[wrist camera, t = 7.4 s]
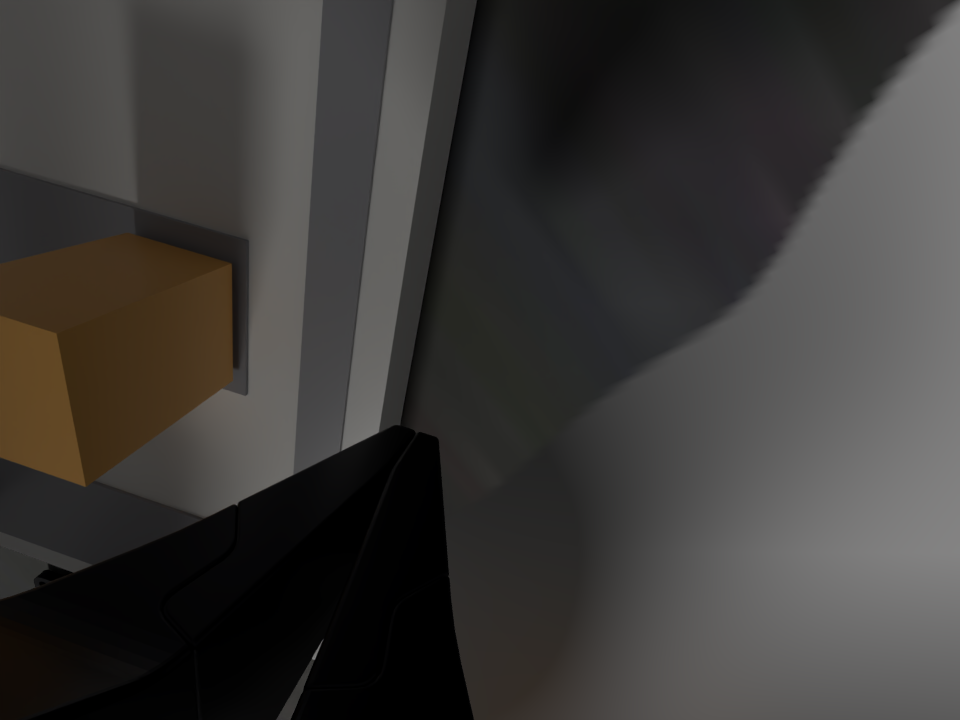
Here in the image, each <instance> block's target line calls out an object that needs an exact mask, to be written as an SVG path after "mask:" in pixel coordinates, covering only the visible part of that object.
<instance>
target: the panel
mask: <svg viewBox="0 0 960 720" xmlns="http://www.w3.org/2000/svg"><path fill="white" fill-rule="evenodd" d="M476 3H477V0H0V264H1V263H6V262H10V261H14V260H18V259H22V258H26V257H30V256H34V255H38V254H42V253H46V252H50V251H54V250H59V249H63V248H67V247H71V246H75V245H79V244H83V243H87V242H91V241H95V240H99V239H103V238H107V237H111V236H116V235H120V234H124V233H131V234H134V235H138V236H141V237H144V238H148V239H151V240H155V241H158V242H161V243H165V244H168V245H171V246H175V247H178V248H182V249H185V250H188V251H192V252H195V253H198V254H202V255H205V256H209V257H212V258H215V259H219V260H222V261H225V262H229V263H232V327H233V381H232V382H230V383H229V384H228V385H226V386H225V387H224V388H222V389H221V390H219V391H218V392H217V393H215V394H214V395H212V396H211V397H210V398H208V399H207V400H206V401H204V402H203V403H201V404H200V405H199V406H197V407H196V408H194V409H193V410H192V411H190V412H189V413H188V414H186V415H185V416H183V417H182V418H181V419H179V420H178V421H177V422H175V423H174V424H172V425H171V426H170V427H168V428H167V429H165V430H164V431H163V432H161V433H160V434H159V435H157V436H156V437H154V438H153V439H152V440H150V441H149V442H147V443H146V444H145V445H143V446H142V447H141V448H139V449H138V450H136V451H135V452H134V453H132V454H131V455H130V456H128V457H127V458H125V459H124V460H123V461H121V462H120V463H118V464H117V465H116V466H114V467H113V468H112V469H110V470H109V471H107V472H106V473H105V474H103V475H102V476H100V477H99V478H98V479H96V480H95V481H94V482H92V483H91V484H89V485H88V486H87V487H84V486H82V485H79V484H76V483H73V482H70V481H67V480H64V479H61V478H58V477H56V476H53V475H50V474H47V473H44V472H41V471H38V470H35V469H32V468H29V467H27V466H24V465H21V464H18V463H15V462H12V461H9V460H6V459H3V458H1V457H0V546H2V547H4V548H7V549H10V550H13V551H15V552H18V553H21V554H24V555H26V556H29V557H32V558H35V559H38V560H40V561H43V562H46V563H49V564H51V565H54V566H57V567H60V568H62V569H65V570H68V571H71V572H73V573H74V572H76V571H79V570H82V569H84V568H87V567H89V566H92V565H94V564H97V563H99V562H102V561H104V560H107V559H109V558H112V557H114V556H117V555H120V554H122V553H125V552H127V551H130V550H132V549H135V548H137V547H140V546H142V545H144V544H147V543H149V542H152V541H154V540H156V539H159V538H161V537H164V536H166V535H168V534H171V533H173V532H176V531H178V530H180V529H182V528H184V527H187V526H189V525H191V524H193V523H195V522H197V521H199V520H202V519H204V518H206V517H208V516H210V515H212V514H214V513H216V512H218V511H220V510H222V509H224V508H226V507H228V506H230V505H233V504H236V505H237V504H238V502H239V501H241V500H243V499H245V498H247V497H249V496H251V495H253V494H255V493H257V492H259V491H261V490H263V489H265V488H267V487H269V486H271V485H273V484H275V483H277V482H279V481H281V480H283V479H285V478H287V477H290V476H292V475H294V474H296V473H298V472H300V471H302V470H304V469H306V468H308V467H310V466H312V465H314V464H316V463H318V462H320V461H322V460H324V459H326V458H328V457H330V456H332V455H334V454H336V453H338V452H340V451H342V450H344V449H346V448H348V447H350V446H352V445H354V444H356V443H358V442H360V441H362V440H364V439H366V438H368V437H370V436H372V435H374V434H376V433H378V432H380V431H382V430H385V429H387V428H389V427H391V426H393V425H400V423H401V417H402V412H403V406H404V400H405V395H406V389H407V384H408V378H409V373H410V367H411V362H412V356H413V351H414V345H415V340H416V334H417V329H418V323H419V318H420V312H421V307H422V301H423V296H424V290H425V284H426V279H427V273H428V268H429V262H430V257H431V251H432V246H433V240H434V235H435V229H436V224H437V218H438V213H439V207H440V202H441V196H442V191H443V185H444V179H445V174H446V168H447V163H448V157H449V152H450V146H451V141H452V135H453V130H454V124H455V119H456V113H457V108H458V102H459V97H460V91H461V86H462V80H463V75H464V69H465V63H466V58H467V52H468V47H469V41H470V36H471V30H472V25H473V19H474V14H475V8H476ZM322 641H323V640H322ZM321 643H322V642H321ZM320 646H321V644H320V645H319V647H318V649H317V650H316V652H315V654H314V656H313V657H312V659H313V660H315V658H316V656H317V653H318V651H319V648H320Z"/></svg>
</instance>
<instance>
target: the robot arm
mask: <svg viewBox="0 0 960 720" xmlns="http://www.w3.org/2000/svg"><path fill="white" fill-rule="evenodd" d="M448 576H449V568H448V555H447V542H446V530H445V516H444V503H443V490H442V477H441V464H440V451H439V440H438V438H437V437H435V436H431V435H428V434H425V433H422V432H418V433H416V432H415V431H414V430H412V429H409V428H406V427H403V426H400V425H393V426H391V427H389V428H387V429H385V430H382V431H380V432H378V433H376V434H374V435H372V436H370V437H368V438H366V439H364V440H362V441H360V442H358V443H356V444H354V445H352V446H350V447H348V448H346V449H344V450H342V451H340V452H338V453H336V454H334V455H332V456H330V457H328V458H326V459H324V460H322V461H320V462H318V463H316V464H314V465H312V466H310V467H308V468H306V469H304V470H302V471H300V472H298V473H296V474H294V475H292V476H290V477H287V478H285V479H283V480H281V481H279V482H277V483H275V484H273V485H271V486H269V487H267V488H265V489H263V490H261V491H259V492H257V493H255V494H253V495H251V496H249V497H247V498H245V499H243V500H241V501H239V502H238V504H237V505H236V504H233V505H230V506H228V507H226V508H224V509H222V510H220V511H218V512H216V513H214V514H212V515H210V516H208V517H206V518H204V519H202V520H199V521H197V522H195V523H193V524H191V525H189V526H187V527H184V528H182V529H180V530H178V531H176V532H173V533H171V534H168V535H166V536H164V537H161V538H159V539H156V540H154V541H152V542H149V543H147V544H144V545H142V546H140V547H137V548H135V549H132V550H130V551H127V552H125V553H122V554H120V555H117V556H114V557H112V558H109V559H107V560H104V561H102V562H99V563H97V564H94V565H92V566H89V567H87V568H84V569H82V570H79V571H76V572H74V573H71V574H69V575H66V576H65V575H62V574H59V573H57V572H54V571H51V570H44V571H43V572H42V573H41V574H40V575H38V576H37V577H36V578H35V579H34V583H35V587H36V588H33V589H31V590H28V591H25V592H22V593H20V594H17V595H14V596H11V597H7V598H4V599H0V720H276V719H277V717H278V716H279V714H280V712H281V711H282V709H283V707H284V705H285V704H286V702H287V700H288V699H289V697H290V695H291V693H292V692H293V690H294V688H295V687H296V685H297V683H298V681H299V680H300V678H301V676H302V674H303V673H304V671H305V669H306V668H307V666H308V664H309V662H310V661H311V659H312V657H313V656H314V654H315V652H316V650H317V649H318V647H319V645H320V644H321V646H320V648H319V651H318V653H317V656H316V658H315V661H314V663H313V666H312V668H311V671H310V673H309V676H308V678H307V681H306V683H305V686H304V690H303V693H302V694H301V696H300V699H299V701H298V704H297V706H296V708H295V711H294V713H293V715H292V718H291V720H474V718H473V713H472V709H471V704H470V700H469V696H468V691H467V687H466V682H465V678H464V673H463V669H462V665H461V660H460V654H459V649H458V644H457V639H456V633H455V627H454V619H453V610H452V603H451V592H450V579H449V577H448ZM322 640H323V641H322ZM321 642H322V643H321Z"/></svg>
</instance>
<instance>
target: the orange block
mask: <svg viewBox="0 0 960 720" xmlns="http://www.w3.org/2000/svg"><path fill="white" fill-rule="evenodd" d="M232 381H233V327H232V263H229V262H225V261H222V260H219V259H215V258H212V257H209V256H205V255H202V254H198V253H195V252H192V251H188V250H185V249H182V248H178V247H175V246H171V245H168V244H165V243H161V242H158V241H155V240H151V239H148V238H144V237H141V236H138V235H134V234H131V233H124V234H120V235H116V236H111V237H107V238H103V239H99V240H95V241H91V242H87V243H83V244H79V245H75V246H71V247H67V248H63V249H59V250H54V251H50V252H46V253H42V254H38V255H34V256H30V257H26V258H22V259H18V260H14V261H10V262H6V263H1V264H0V457H1V458H3V459H6V460H9V461H12V462H15V463H18V464H21V465H24V466H27V467H29V468H32V469H35V470H38V471H41V472H44V473H47V474H50V475H53V476H56V477H58V478H61V479H64V480H67V481H70V482H73V483H76V484H79V485H82V486H84V487H87V486H88V485H89V484H91V483H92V482H94V481H95V480H96V479H98V478H99V477H100V476H102V475H103V474H105V473H106V472H107V471H109V470H110V469H112V468H113V467H114V466H116V465H117V464H118V463H120V462H121V461H123V460H124V459H125V458H127V457H128V456H130V455H131V454H132V453H134V452H135V451H136V450H138V449H139V448H141V447H142V446H143V445H145V444H146V443H147V442H149V441H150V440H152V439H153V438H154V437H156V436H157V435H159V434H160V433H161V432H163V431H164V430H165V429H167V428H168V427H170V426H171V425H172V424H174V423H175V422H177V421H178V420H179V419H181V418H182V417H183V416H185V415H186V414H188V413H189V412H190V411H192V410H193V409H194V408H196V407H197V406H199V405H200V404H201V403H203V402H204V401H206V400H207V399H208V398H210V397H211V396H212V395H214V394H215V393H217V392H218V391H219V390H221V389H222V388H224V387H225V386H226V385H228V384H229V383H230V382H232Z"/></svg>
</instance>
